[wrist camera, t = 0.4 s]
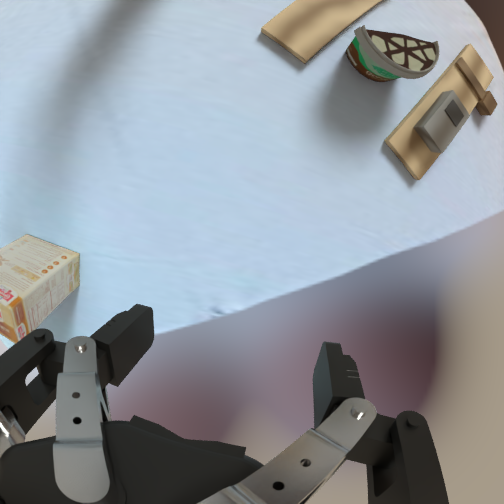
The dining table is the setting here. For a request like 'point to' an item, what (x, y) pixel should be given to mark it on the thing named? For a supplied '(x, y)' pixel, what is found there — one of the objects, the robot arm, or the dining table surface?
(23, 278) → the coffeecake box
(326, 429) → the robot arm
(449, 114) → the panels
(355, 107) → the dining table surface
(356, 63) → the food container
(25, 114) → the dining table surface
